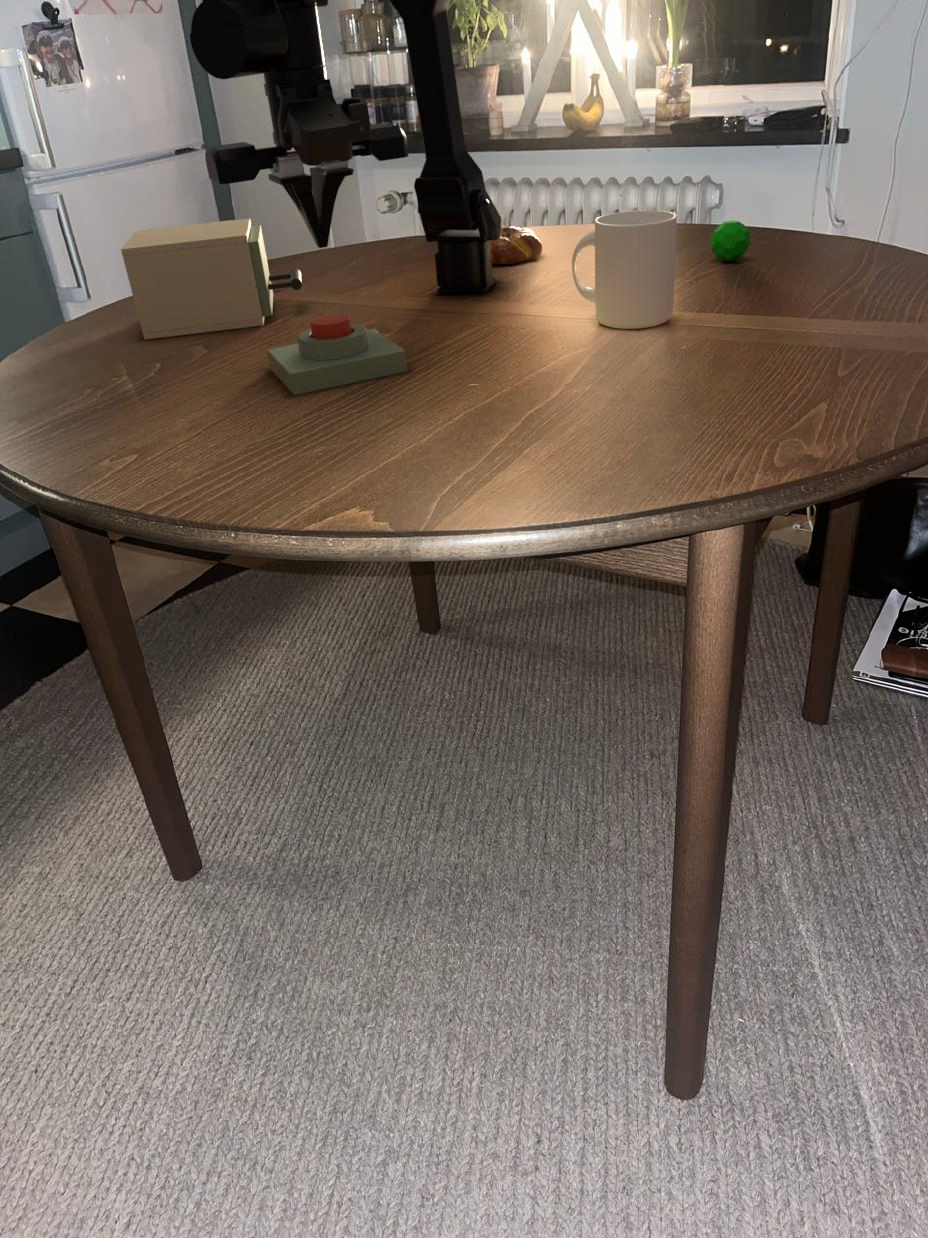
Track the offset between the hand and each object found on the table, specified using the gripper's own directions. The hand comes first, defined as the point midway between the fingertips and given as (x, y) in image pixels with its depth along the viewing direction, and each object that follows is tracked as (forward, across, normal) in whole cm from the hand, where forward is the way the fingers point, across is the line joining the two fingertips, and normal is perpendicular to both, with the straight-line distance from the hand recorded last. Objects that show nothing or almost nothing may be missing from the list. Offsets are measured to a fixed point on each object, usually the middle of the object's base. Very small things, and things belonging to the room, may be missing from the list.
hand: (322, 246), depth 95 cm
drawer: (+11, -5, +28) cm, 30 cm away
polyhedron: (+12, +58, +9) cm, 60 cm away
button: (+8, -1, -3) cm, 9 cm away
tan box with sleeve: (+12, -9, +28) cm, 32 cm away
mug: (+12, +32, -6) cm, 34 cm away
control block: (+12, -1, -3) cm, 12 cm away
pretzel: (+12, +36, +33) cm, 51 cm away
